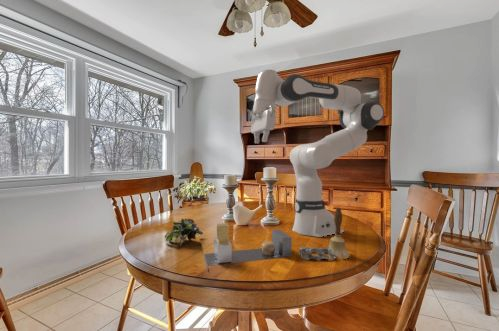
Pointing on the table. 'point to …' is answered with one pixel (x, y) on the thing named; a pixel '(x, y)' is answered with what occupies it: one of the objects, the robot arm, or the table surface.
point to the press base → (257, 251)
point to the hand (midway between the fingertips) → (260, 142)
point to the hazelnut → (268, 248)
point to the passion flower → (183, 230)
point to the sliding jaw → (222, 244)
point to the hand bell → (338, 237)
